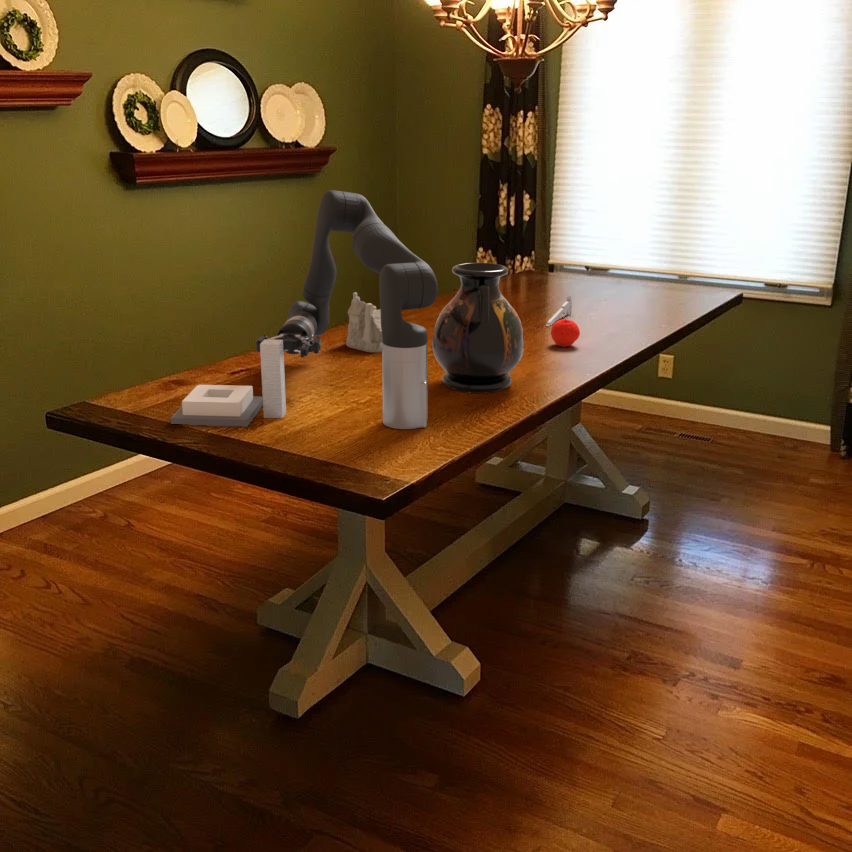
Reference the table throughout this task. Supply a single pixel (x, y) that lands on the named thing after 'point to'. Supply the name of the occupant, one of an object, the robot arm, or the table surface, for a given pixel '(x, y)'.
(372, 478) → the table surface
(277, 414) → the steel peg
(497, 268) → the black painted vase
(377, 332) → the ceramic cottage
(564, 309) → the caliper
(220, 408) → the socket block
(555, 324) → the apple
